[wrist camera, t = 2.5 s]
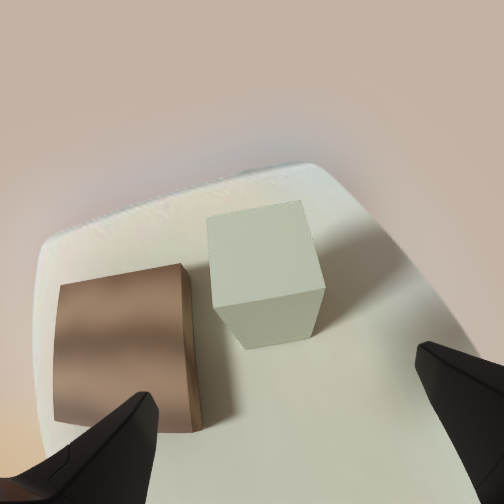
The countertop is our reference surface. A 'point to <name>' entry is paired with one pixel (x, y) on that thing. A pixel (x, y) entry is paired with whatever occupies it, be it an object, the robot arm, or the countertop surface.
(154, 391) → the walnut stand
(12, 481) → the robot arm
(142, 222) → the countertop surface
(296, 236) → the sage block
